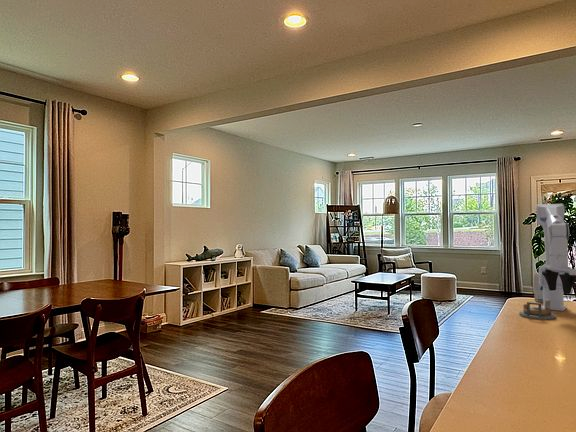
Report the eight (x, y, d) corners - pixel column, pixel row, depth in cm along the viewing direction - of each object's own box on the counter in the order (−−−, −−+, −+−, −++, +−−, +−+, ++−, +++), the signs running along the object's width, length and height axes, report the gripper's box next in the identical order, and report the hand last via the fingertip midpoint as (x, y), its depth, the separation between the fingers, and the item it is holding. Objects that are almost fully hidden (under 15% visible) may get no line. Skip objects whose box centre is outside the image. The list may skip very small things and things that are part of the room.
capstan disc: (526, 309, 164) (525, 296, 165) (553, 312, 158) (552, 299, 158) (521, 313, 158) (520, 300, 158) (549, 316, 151) (548, 303, 152)
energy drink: (550, 302, 185) (550, 275, 185) (538, 302, 185) (538, 275, 185) (543, 299, 190) (542, 274, 190) (532, 300, 190) (531, 274, 191)
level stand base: (523, 311, 166) (522, 296, 167) (558, 315, 159) (557, 300, 159) (516, 316, 157) (515, 301, 157) (552, 321, 149) (552, 304, 150)
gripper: (583, 256, 145) (585, 295, 145) (555, 253, 160) (556, 288, 159) (564, 257, 145) (565, 295, 145) (537, 254, 159) (538, 289, 159)
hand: (559, 292), depth 152 cm, fingers open, 7 cm apart
